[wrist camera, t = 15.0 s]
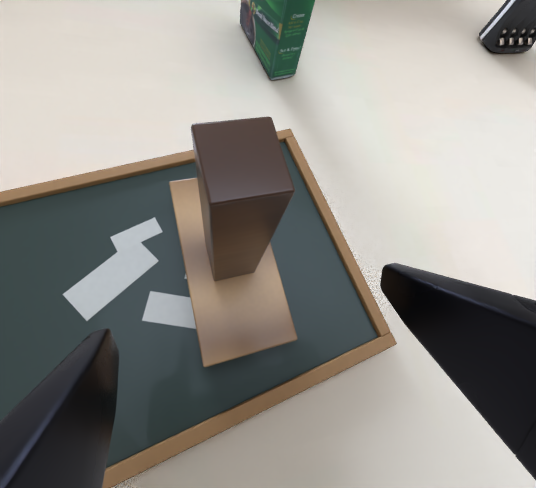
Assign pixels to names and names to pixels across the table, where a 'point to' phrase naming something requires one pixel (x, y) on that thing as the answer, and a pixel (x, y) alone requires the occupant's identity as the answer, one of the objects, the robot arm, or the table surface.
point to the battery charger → (511, 27)
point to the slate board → (168, 304)
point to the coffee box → (277, 32)
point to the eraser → (234, 237)
